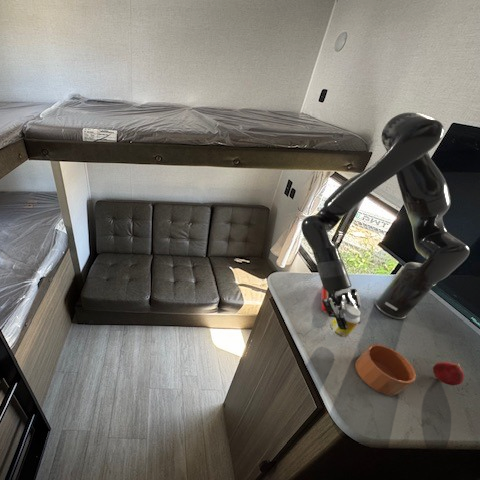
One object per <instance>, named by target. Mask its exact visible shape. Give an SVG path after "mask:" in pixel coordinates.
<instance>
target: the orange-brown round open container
mask: <svg viewBox="0 0 480 480" xmlns="http://www.w3.org/2000/svg"><path fill="white" fill-rule="evenodd" d="M354 365H355V370H356V373H357V374H358V376H359V377H360V378H361V380H362V381H363V382H364V383H365V384H366V385H368V386H369V387H370V388H372V389H374V391H376V392H378V393H380V394H383V395H386V396H396V395H398V394H400V393H401V392H402V391H404V390H405V389H406V388H408V387H409V386H410V385H411V384H412V383H414V382H415V380H416V379H417V375H416V370H415V369H414V367H413V365H412V364H411V363H410V362H409V360H408V359H407V358H406V357H405V356H403V355H402V354H401V353H399V352H398V351H396V350H394V349H393V348H391V347H388V346H387V345H383V344H378V343H377V344H375V343H374V344H369V346H368V347H367V348H366V350H364V352H363V353H362V354H360V356H359V357H358V358H357V360H355V364H354Z"/></svg>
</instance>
